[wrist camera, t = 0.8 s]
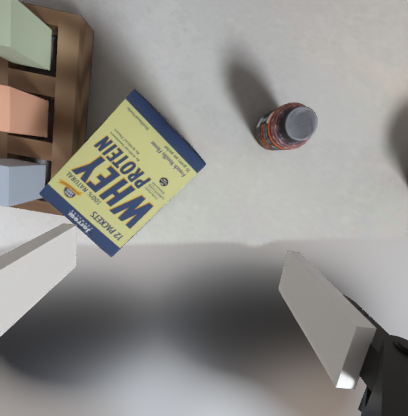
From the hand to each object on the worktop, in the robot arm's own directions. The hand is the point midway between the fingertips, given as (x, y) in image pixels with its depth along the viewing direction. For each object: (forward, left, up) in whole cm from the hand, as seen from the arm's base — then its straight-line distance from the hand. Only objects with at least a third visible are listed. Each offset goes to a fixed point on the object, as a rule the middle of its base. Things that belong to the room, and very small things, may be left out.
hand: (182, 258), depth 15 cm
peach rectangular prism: (-7, -25, -23) cm, 34 cm away
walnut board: (-7, -25, -27) cm, 37 cm away
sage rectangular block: (-16, -25, -23) cm, 37 cm away
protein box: (-2, -8, -27) cm, 28 cm away
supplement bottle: (-12, +11, -27) cm, 32 cm away
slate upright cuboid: (+2, -25, -23) cm, 33 cm away
